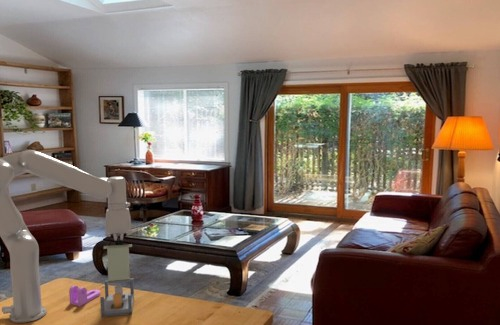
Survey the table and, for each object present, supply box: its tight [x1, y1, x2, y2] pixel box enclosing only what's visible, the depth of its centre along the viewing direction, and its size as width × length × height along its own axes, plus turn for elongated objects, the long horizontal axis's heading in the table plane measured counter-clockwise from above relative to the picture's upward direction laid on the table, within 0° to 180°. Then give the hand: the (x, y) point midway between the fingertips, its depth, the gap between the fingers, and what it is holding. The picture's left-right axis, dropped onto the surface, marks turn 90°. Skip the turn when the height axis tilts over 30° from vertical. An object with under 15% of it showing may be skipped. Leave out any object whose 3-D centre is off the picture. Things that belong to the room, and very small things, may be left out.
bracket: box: [68, 285, 101, 307], centre depth 183 cm, size 13×6×7 cm, turn 157°
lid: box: [103, 243, 133, 284], centre depth 181 cm, size 11×15×1 cm
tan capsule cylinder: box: [112, 293, 122, 309], centre depth 171 cm, size 3×3×6 cm
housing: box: [99, 277, 135, 318], centre depth 175 cm, size 11×15×8 cm
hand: (119, 248), depth 187 cm, fingers closed
